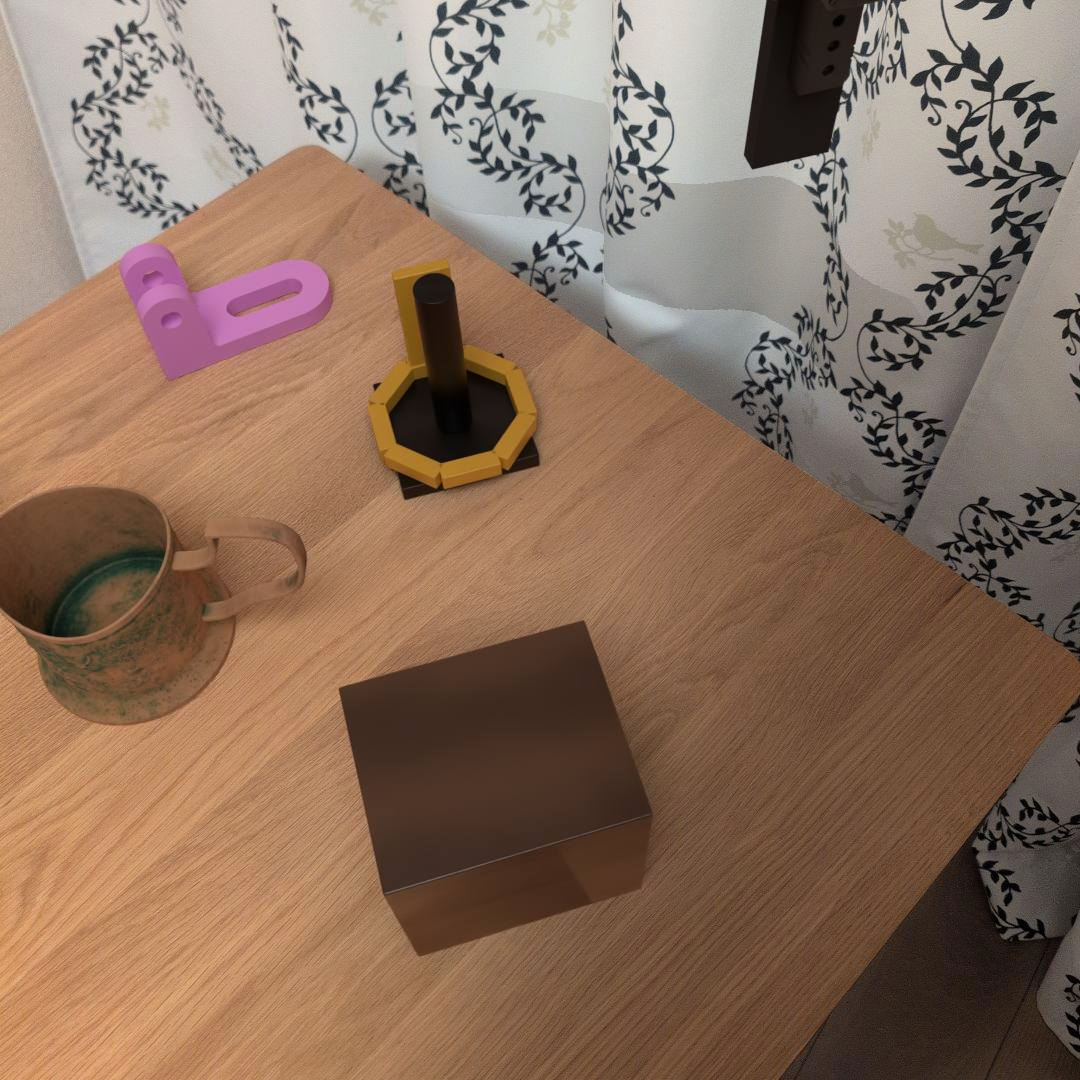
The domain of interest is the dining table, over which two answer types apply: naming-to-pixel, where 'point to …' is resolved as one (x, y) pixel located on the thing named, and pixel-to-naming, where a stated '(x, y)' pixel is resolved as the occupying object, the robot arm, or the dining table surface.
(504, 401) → the post
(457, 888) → the block
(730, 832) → the dining table surface
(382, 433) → the ring
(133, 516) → the mug
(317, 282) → the bracket
